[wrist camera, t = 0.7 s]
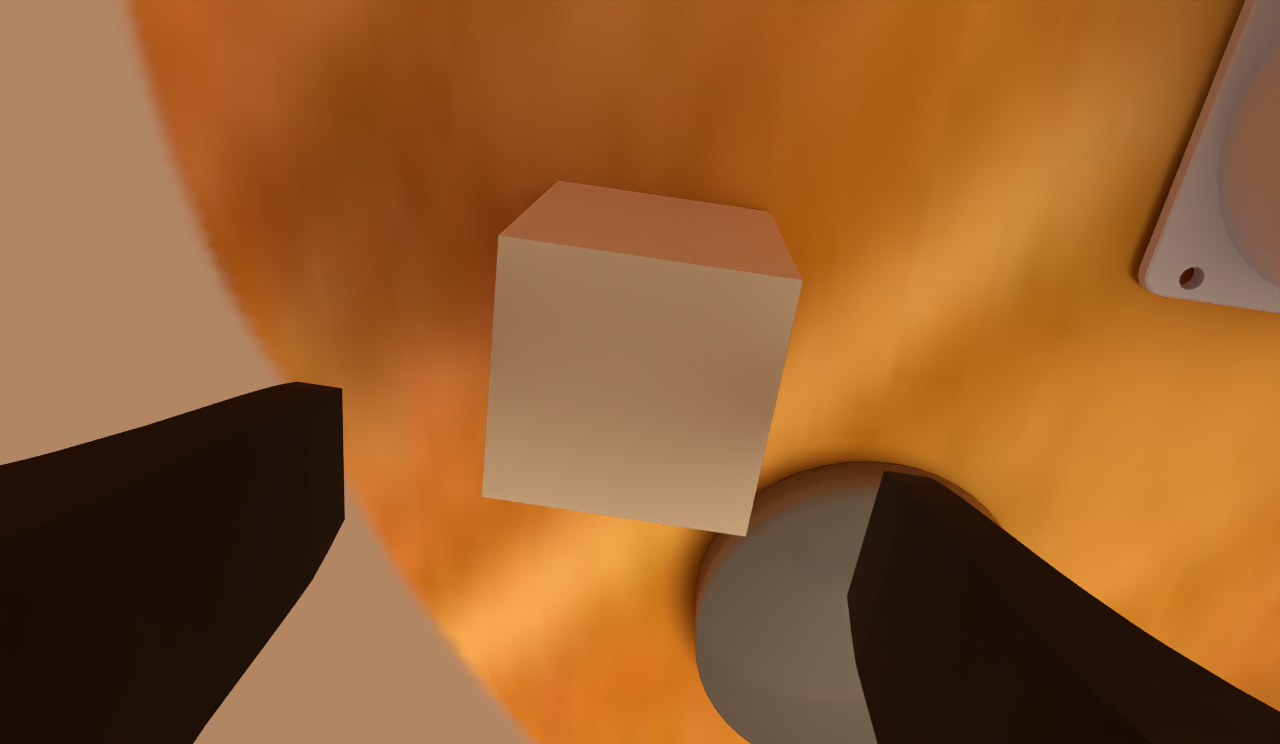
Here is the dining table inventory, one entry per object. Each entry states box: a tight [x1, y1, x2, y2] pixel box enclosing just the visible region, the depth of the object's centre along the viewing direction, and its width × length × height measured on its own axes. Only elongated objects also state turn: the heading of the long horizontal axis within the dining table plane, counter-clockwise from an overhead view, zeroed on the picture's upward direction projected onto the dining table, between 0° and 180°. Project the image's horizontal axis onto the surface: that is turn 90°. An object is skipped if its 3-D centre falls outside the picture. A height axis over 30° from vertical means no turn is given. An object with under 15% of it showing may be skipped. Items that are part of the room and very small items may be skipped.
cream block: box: [482, 181, 803, 537], centre depth 16 cm, size 5×5×6 cm
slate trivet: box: [695, 462, 1002, 744], centre depth 21 cm, size 9×9×2 cm
